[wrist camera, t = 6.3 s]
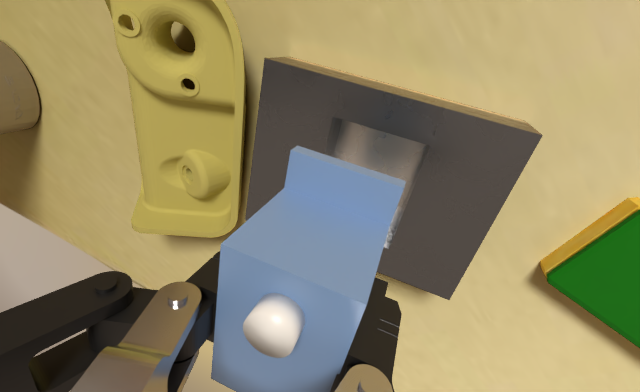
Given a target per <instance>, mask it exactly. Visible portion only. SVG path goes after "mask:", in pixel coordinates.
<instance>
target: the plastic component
mask: <svg viewBox="0 0 640 392" xmlns="http://www.w3.org/2000/svg"><path fill="white" fill-rule="evenodd" d="M105 2H106V4H107V6H108V9H109V11H110V14H111V17H112V20H113V25H114V31H115V38H116V44H117V48H118V52H119V54H120V57H121V59H122V61H123V63H124V65H125V66H126V69H127V74H128V80H129V87H130V94H131V101H132V109H133V116H134V123H135V130H136V137H137V145H138V152H139V159H140V166H141V174H142V185H141V192H140V195H139V198H138V201H137V204H136V207H135V210H134V213H133V216H132V219H131V223H132V228H133V229H134V230H135V231H137V232H139V233H147V234H162V235H177V236H193V237H208V238H212V237H219V236H222V235H225V234H227V233H228V232H230V231H231V230H232V229H233V228H234V227H235V225H236V222H237V220H238V214H239V208H240V202H241V185H242V167H243V149H244V132H245V114H246V105H245V95H246V78H245V65H244V54H243V47H242V41H241V37H240V33H239V29H238V26H237V24H236V21H235V18H234V16H233V14H232V12H231V10H230V8H229V6H228V5H227V3H226V1H225V0H105ZM130 17H131V18H132V19H133V21H134V22H135V28H134V29H133V26H132V22H131V18H130ZM174 21H176V22H179V23H181V24H183V25H184V26H186V27H187V28H188V29H189V30H190V32H191V33H192V35H193V37H194V40H195V51H194V52H186V51H184V50H182V49H180V48H179V47H178V46H177V45H176V44H175V43H174V41H173V39H172V36H171V27H172V24H173V22H174ZM185 78H187V79H190V80H192V81H193V82H194V84H195V89H193V90H190V89H187V88H186V87H185V86H184V84H183V79H185Z"/></svg>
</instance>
